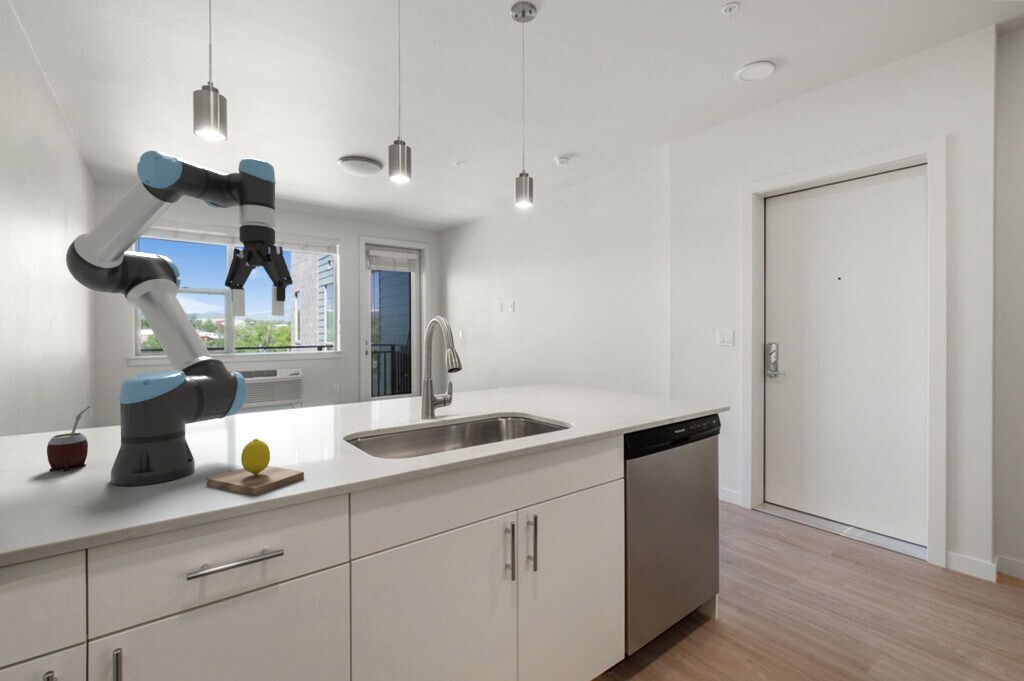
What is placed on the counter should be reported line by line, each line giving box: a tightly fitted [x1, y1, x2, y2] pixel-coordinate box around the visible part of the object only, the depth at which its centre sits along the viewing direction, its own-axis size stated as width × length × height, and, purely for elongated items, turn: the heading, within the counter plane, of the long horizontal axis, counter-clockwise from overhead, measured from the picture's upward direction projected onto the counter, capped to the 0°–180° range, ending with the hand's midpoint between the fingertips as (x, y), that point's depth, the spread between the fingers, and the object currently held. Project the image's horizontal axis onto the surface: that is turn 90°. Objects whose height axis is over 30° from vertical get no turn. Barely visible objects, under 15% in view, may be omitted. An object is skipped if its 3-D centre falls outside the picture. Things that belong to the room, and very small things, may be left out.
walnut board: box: [206, 465, 305, 496], centre depth 102 cm, size 15×12×2 cm
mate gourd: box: [46, 406, 91, 473], centre depth 111 cm, size 8×8×15 cm
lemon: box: [240, 438, 271, 475], centre depth 102 cm, size 6×6×8 cm
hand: (257, 316), depth 112 cm, fingers open, 13 cm apart
